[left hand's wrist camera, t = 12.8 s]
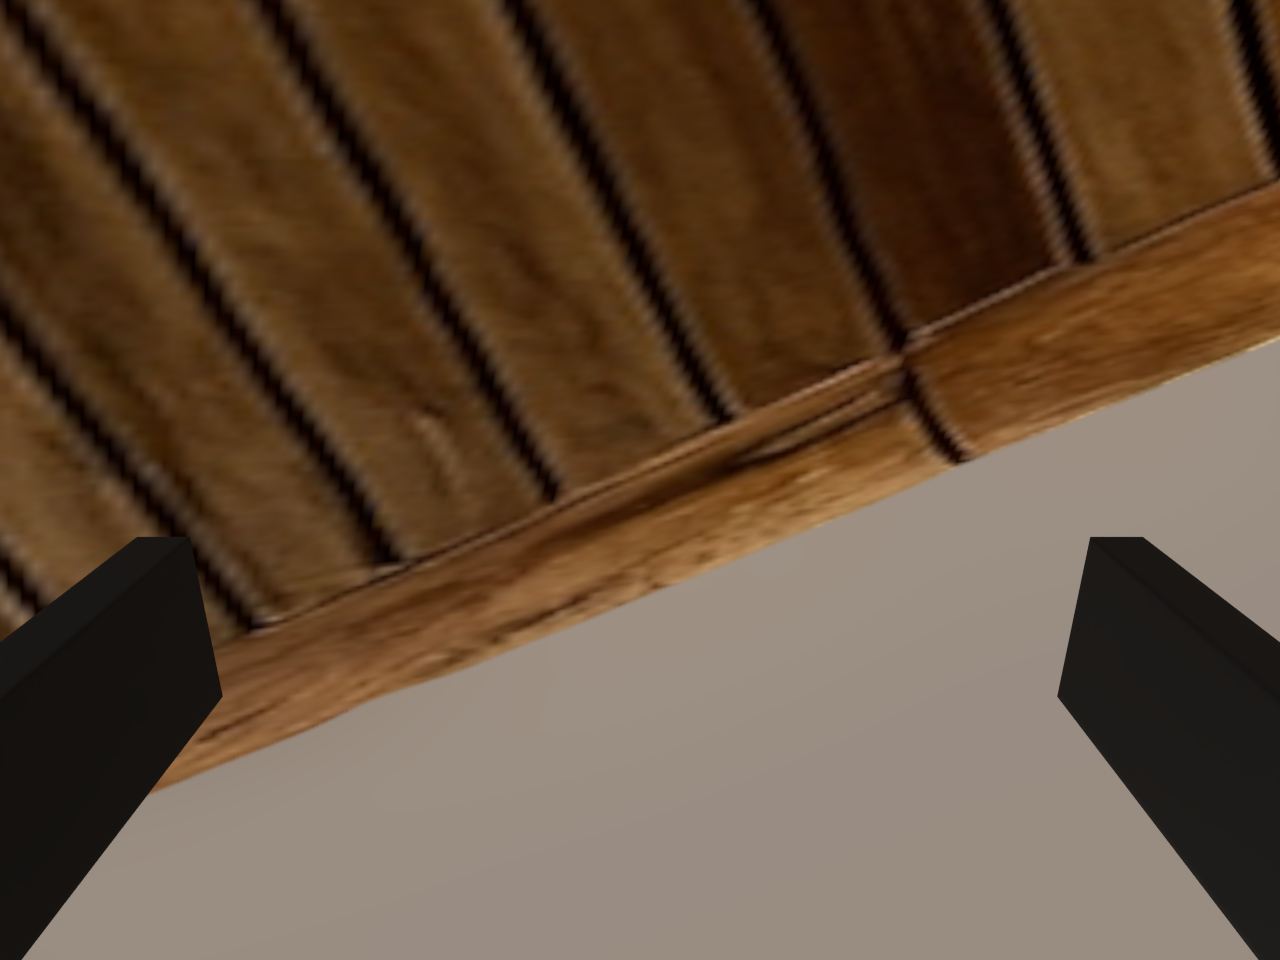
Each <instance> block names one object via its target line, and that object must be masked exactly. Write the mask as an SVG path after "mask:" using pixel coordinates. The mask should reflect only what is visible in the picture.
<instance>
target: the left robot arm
mask: <svg viewBox="0 0 1280 960" xmlns="http://www.w3.org/2000/svg"><path fill="white" fill-rule="evenodd" d="M222 697H223V696H222V691H221V686H220V681H219V676H218V672H217V667H216V662H215V657H214V652H213V647H212V643H211V638H210V633H209V628H208V623H207V618H206V614H205V609H204V604H203V599H202V594H201V589H200V585H199V580H198V575H197V570H196V565H195V560H194V556H193V551H192V546H191V541H190V537H137V538H135V539H134V540H133V541H131V542H130V543H129V544H127V545H126V546H125V547H123V548H122V549H121V550H120V551H118V552H117V553H116V554H114V555H113V556H112V557H110V558H109V559H108V560H107V561H105V562H104V563H103V564H101V565H100V566H99V567H97V568H96V569H95V570H94V571H92V572H91V573H90V574H88V575H87V576H86V577H84V578H83V579H82V580H81V581H79V582H78V583H77V584H75V585H74V586H73V587H71V588H70V589H69V590H68V591H66V592H65V593H64V594H62V595H61V596H60V597H58V598H57V599H56V600H55V601H53V602H52V603H51V604H49V605H48V606H47V607H45V608H44V609H43V610H42V611H40V612H39V613H38V614H36V615H35V616H34V617H32V618H31V619H30V620H29V621H27V622H26V623H25V624H23V625H22V626H21V627H19V628H18V629H17V630H16V631H14V632H13V633H12V634H10V635H9V636H8V637H6V638H5V639H4V640H3V641H1V642H0V960H22V958H23V957H24V956H25V955H26V953H27V952H28V951H29V949H30V948H31V947H32V945H33V944H34V943H35V941H36V940H37V939H38V937H39V936H40V935H41V934H42V932H43V931H44V930H45V928H46V927H47V926H48V924H49V923H50V922H51V920H52V919H53V918H54V917H55V915H56V914H57V913H58V911H59V910H60V909H61V907H62V906H63V905H64V903H65V902H66V901H67V900H68V898H69V897H70V896H71V894H72V893H73V892H74V890H75V889H76V888H77V886H78V885H79V884H80V883H81V881H82V880H83V879H84V877H85V876H86V875H87V873H88V872H89V871H90V869H91V868H92V867H93V865H94V864H95V863H96V862H97V860H98V859H99V858H100V856H101V855H102V854H103V852H104V851H105V850H106V848H107V847H108V846H109V845H110V843H111V842H112V841H113V839H114V838H115V837H116V835H117V834H118V833H119V831H120V830H121V829H122V828H123V826H124V825H125V824H126V822H127V821H128V820H129V818H130V817H131V816H132V814H133V813H134V812H135V811H136V809H137V808H138V807H139V805H140V804H141V803H142V801H143V800H144V799H145V797H146V796H147V795H148V794H149V792H150V791H151V790H152V788H153V787H154V786H155V784H156V783H157V782H158V780H159V779H160V778H161V777H162V775H163V774H164V773H165V771H166V770H167V769H168V767H169V766H170V765H171V763H172V762H173V761H174V760H175V758H176V757H177V756H178V754H179V753H180V752H181V750H182V749H183V748H184V746H185V745H186V744H187V743H188V741H189V740H190V739H191V737H192V736H193V735H194V733H195V732H196V731H197V729H198V728H199V727H200V726H201V724H202V723H203V722H204V720H205V719H206V718H207V716H208V715H209V714H210V712H211V711H212V710H213V709H214V707H215V706H216V705H217V703H218V702H219V701H220V699H221V698H222ZM1058 698H1059V699H1060V701H1061V702H1062V703H1063V705H1064V706H1065V707H1066V708H1067V710H1068V711H1069V712H1070V714H1071V715H1072V716H1073V718H1074V719H1075V720H1076V722H1077V723H1078V724H1079V726H1080V727H1081V728H1082V729H1083V731H1084V732H1085V733H1086V735H1087V736H1088V737H1089V739H1090V740H1091V741H1092V743H1093V744H1094V745H1095V746H1096V748H1097V749H1098V750H1099V752H1100V753H1101V754H1102V756H1103V757H1104V758H1105V760H1106V761H1107V762H1108V763H1109V765H1110V766H1111V767H1112V769H1113V770H1114V771H1115V773H1116V774H1117V775H1118V777H1119V778H1120V779H1121V780H1122V782H1123V783H1124V784H1125V786H1126V787H1127V788H1128V790H1129V791H1130V792H1131V794H1132V795H1133V796H1134V797H1135V799H1136V800H1137V801H1138V803H1139V804H1140V805H1141V807H1142V808H1143V809H1144V811H1145V812H1146V813H1147V815H1148V816H1149V817H1150V818H1151V820H1152V821H1153V822H1154V824H1155V825H1156V826H1157V828H1158V829H1159V830H1160V832H1161V833H1162V834H1163V835H1164V837H1165V838H1166V839H1167V841H1168V842H1169V843H1170V845H1171V846H1172V847H1173V848H1174V850H1175V851H1176V852H1177V854H1178V855H1179V856H1180V858H1181V859H1182V860H1183V862H1184V863H1185V864H1186V866H1187V867H1188V868H1189V869H1190V871H1191V872H1192V873H1193V875H1194V876H1195V877H1196V879H1197V880H1198V881H1199V883H1200V884H1201V885H1202V886H1203V888H1204V889H1205V890H1206V892H1207V893H1208V894H1209V896H1210V897H1211V898H1212V900H1213V901H1214V902H1215V903H1216V905H1217V906H1218V907H1219V909H1220V910H1221V911H1222V913H1223V914H1224V915H1225V917H1226V918H1227V919H1228V920H1229V922H1230V923H1231V924H1232V926H1233V927H1234V928H1235V930H1236V931H1237V932H1238V934H1239V935H1240V936H1241V938H1242V939H1243V940H1244V941H1245V943H1246V944H1247V945H1248V947H1249V948H1250V949H1251V951H1252V952H1253V953H1254V955H1255V956H1256V957H1257V958H1258V960H1280V642H1279V641H1277V640H1276V639H1275V638H1274V637H1272V636H1271V635H1270V634H1268V633H1267V632H1266V631H1264V630H1263V629H1262V628H1261V627H1259V626H1258V625H1257V624H1255V623H1254V622H1253V621H1251V620H1250V619H1249V618H1248V617H1246V616H1245V615H1244V614H1242V613H1241V612H1240V611H1238V610H1237V609H1236V608H1234V607H1233V606H1232V605H1231V604H1229V603H1228V602H1227V601H1225V600H1224V599H1223V598H1221V597H1220V596H1219V595H1218V594H1216V593H1215V592H1214V591H1212V590H1211V589H1210V588H1208V587H1207V586H1206V585H1205V584H1203V583H1202V582H1201V581H1199V580H1198V579H1197V578H1196V577H1194V576H1193V575H1192V574H1190V573H1189V572H1188V571H1186V570H1185V569H1184V568H1182V567H1181V566H1180V565H1179V564H1177V563H1176V562H1175V561H1173V560H1172V559H1171V558H1170V557H1168V556H1167V555H1166V554H1164V553H1163V552H1162V551H1160V550H1159V549H1158V548H1157V547H1155V546H1154V545H1153V544H1151V543H1150V542H1149V541H1147V540H1146V539H1145V538H1143V537H1090V541H1089V546H1088V551H1087V556H1086V560H1085V565H1084V570H1083V575H1082V580H1081V585H1080V589H1079V594H1078V599H1077V604H1076V609H1075V614H1074V618H1073V623H1072V628H1071V633H1070V638H1069V643H1068V647H1067V652H1066V657H1065V662H1064V667H1063V672H1062V676H1061V681H1060V686H1059V691H1058Z"/></svg>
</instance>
